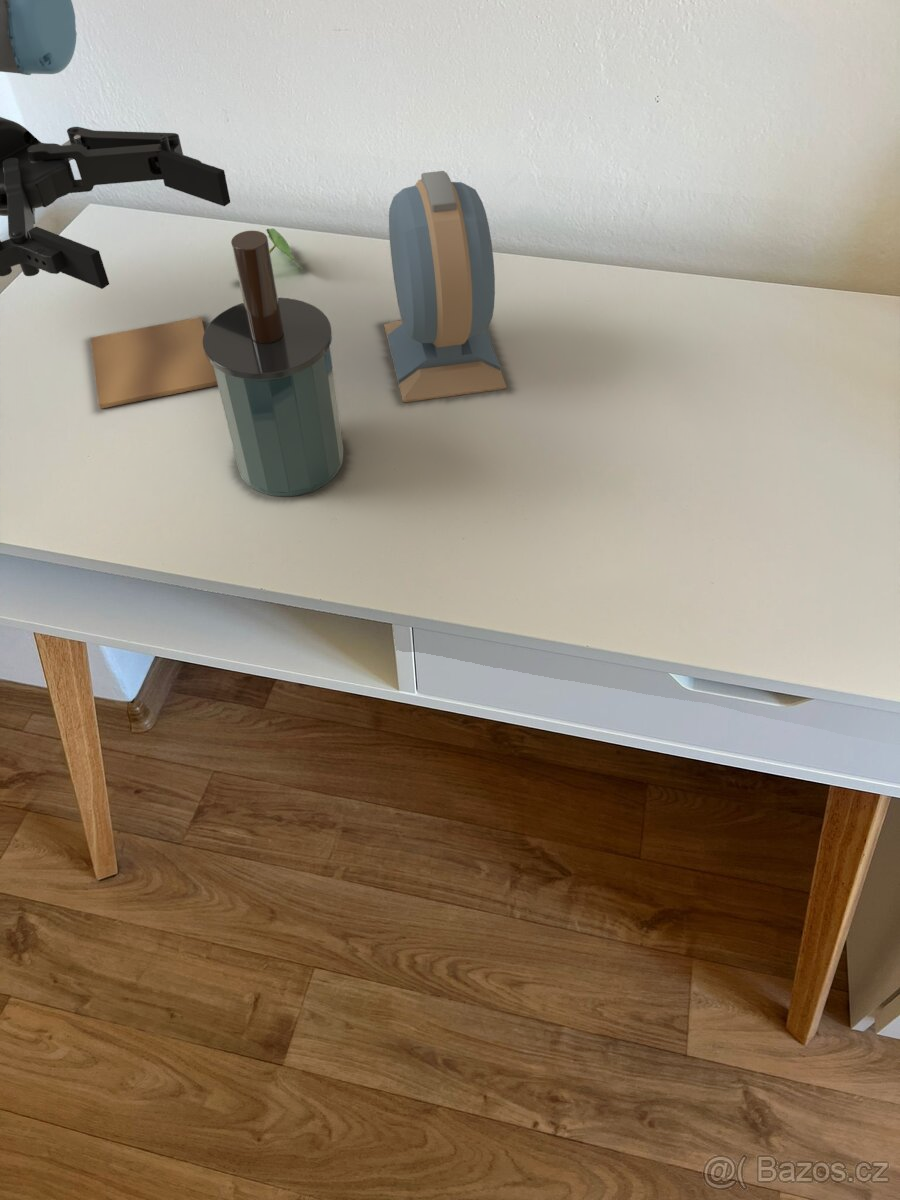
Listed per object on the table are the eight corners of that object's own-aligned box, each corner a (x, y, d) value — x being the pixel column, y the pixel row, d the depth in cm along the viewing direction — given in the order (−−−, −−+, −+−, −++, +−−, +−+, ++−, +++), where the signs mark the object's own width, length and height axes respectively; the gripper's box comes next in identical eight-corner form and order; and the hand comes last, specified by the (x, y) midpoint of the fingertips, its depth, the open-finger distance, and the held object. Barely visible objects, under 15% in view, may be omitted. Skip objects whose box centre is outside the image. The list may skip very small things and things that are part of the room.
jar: (247, 506, 85) (218, 387, 75) (230, 438, 90) (201, 318, 81) (354, 483, 86) (338, 363, 77) (330, 417, 92) (313, 297, 82)
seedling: (269, 311, 111) (309, 266, 111) (263, 307, 104) (306, 259, 103) (219, 264, 110) (259, 218, 109) (209, 256, 102) (252, 207, 101)
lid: (215, 397, 75) (188, 289, 68) (197, 323, 81) (170, 217, 74) (345, 371, 77) (332, 263, 70) (318, 300, 83) (303, 194, 76)
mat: (100, 409, 93) (98, 404, 93) (91, 341, 100) (90, 337, 100) (218, 385, 95) (217, 381, 95) (201, 320, 102) (200, 316, 102)
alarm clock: (508, 395, 93) (514, 217, 80) (404, 409, 92) (392, 231, 79) (477, 308, 102) (478, 135, 89) (382, 320, 101) (368, 147, 88)
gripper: (99, 141, 94) (276, 201, 86) (-128, 270, 80) (58, 353, 73) (74, 56, 88) (262, 112, 80) (-174, 179, 75) (22, 260, 67)
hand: (165, 227), depth 77 cm, fingers open, 13 cm apart
